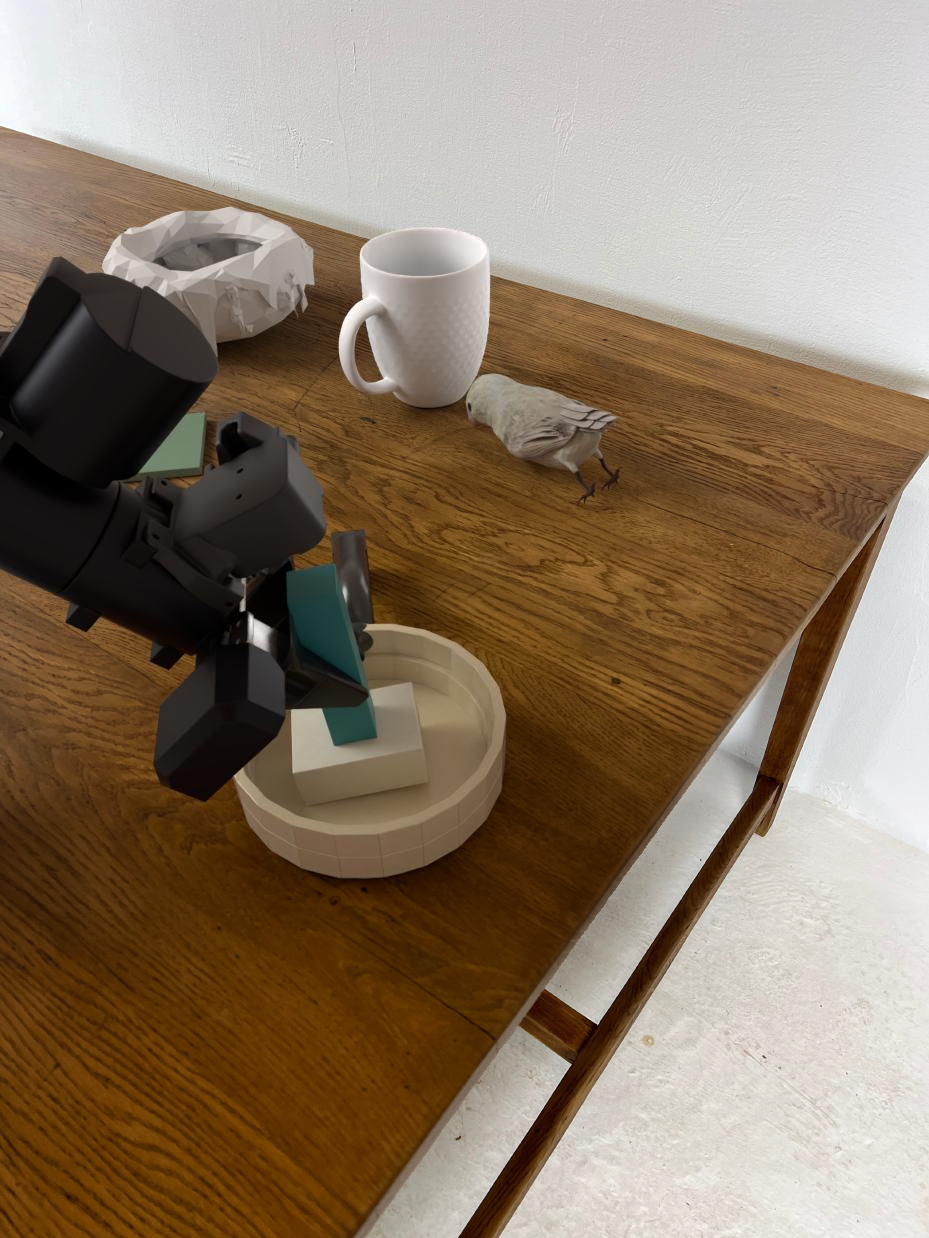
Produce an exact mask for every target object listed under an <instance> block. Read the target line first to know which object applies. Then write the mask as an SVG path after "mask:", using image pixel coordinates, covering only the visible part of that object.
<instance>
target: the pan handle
mask: <svg viewBox="0 0 929 1238" xmlns="http://www.w3.org/2000/svg"><path fill="white" fill-rule="evenodd" d="M330 543H331V544H330V546H331V547H330V548H331V556H332V563H335V565H336V569H337V572H338V576H339V580H340V583H341V587H342V591H343V594H344V598H345V602H346V605H347V609H348V613H349V616H350V620H351V624H352V627H353V631H354V635H355V638H356V642H357V645H358V646H359V647H360V648H361V650H362V651H363V652H366V651H368V650H369V649H371V647H372V646H373V638H372V637H371V635H369V634H368V633H367V632H364V631H363V630H364V629H365V628H366V627H367V624H376V622H375V621H376V620H375V614H374V605H373V597H372V591H371V589H372V582H371V572H370V563H369V554H368V545H367V537H366V530H365V529H364V528H362V529H361V528H359V529H351V530H341V531H332V532H330Z"/></svg>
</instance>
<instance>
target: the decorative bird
mask: <svg viewBox="0 0 929 1238" xmlns="http://www.w3.org/2000/svg"><path fill="white" fill-rule="evenodd" d="M465 407H466V412H467V418H468V421H469V422H470V424H471V426H472V427H473V428H474V429H475V428H480V427H483V426H488V427H490V428H492V431H493V433H494V435H496V437H497V438H498V439H499V440H500V441H501V442H502V443H503V445H504V446H505V448H506V449H507V451H508V452H509V454H511V455H512V457H514V458H515V459H518V460H529V461H531V462H534V463H535V464H538V465H542V466H545V467H548V468H554V469H558V470H560V471H564V472H565V471H566V472H569V471H570V472H572V473H573V474H574V475H575V477H576V479H577V481H578V483H579V484H580V485H581V486H582V487H583V488H584V489H585V490H586V492H585V493H583V494H582V495H581V496H580V497H579V499H578V501H577V504H576V507H578V506H579V504H580V502H581V501H583V504H584V505H586V502H587V499H588V498H589V497H592V498H595V492H596V488H595V486H596V483H597V482H599V480H595V481H593V482H592V483H591V485H590V487H589V485H588V484H586V482H585V481H584V480H583V478H582V476H581V473H580V471H579V469H578V467H580V466H582V465H583V464H584V463H586V462H587V461H588V460H589V459H590V457H591V456H593V457H595V458H596V459H597V460H598V461H599V463H600V466H601V467H602V469H603V471H605V472H606V474H607V475H608V476H610V479H609V480H607V481H606V482H605V483H604V484H603V486H602V488H601V492H600V493H601V494H602V493H603V491H604V489H605V487H607V491H608V492H610V487H611V485H613V484H617V485H619V482H618V480H619V479H620V477H621V475H620V470H621V469H623V468H624V466H620V467H618V468H617V469H616V470H615V472H614V473H613V472H612V471H611V470H610V469H609V467H608V466H607V464H606V461H605V459H604V458H603V457H604V456H603V454H602V453H601V451H600V449H599V446H600V442H601V439H602V436H603V435H602V433H605V432H608V429H607V427H616V426H618V425H617V424H616V423H615V421H614V420H617V419H621V416H615V415H612V414H611V413H612V412H608V411H602V410H601V408H596V407H591V406H588V405H586V404H585V403H583V402H581V401H579V400H576V399H573V398H568V397H567V396H565V395H563V394H561V393H558V392H556V391H554V390H550V389H547V388H544V387H541V386H532V385H528V384H522V383H519V382H517V381H516V380H514V379H512V378H510V377H508V376H506V375H503V374H500V373H487V374H482V375H480V376H479V377H477V378H475V379H474V381H473V383H472V385H471V386H470V388H469V389H468V391H467V393H466V399H465ZM605 427H606V428H605Z"/></svg>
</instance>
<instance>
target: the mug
mask: <svg viewBox="0 0 929 1238" xmlns="http://www.w3.org/2000/svg"><path fill="white" fill-rule="evenodd" d="M490 255H491V254H490V248H489V246H488V244H487V243H486V242H485V241H484V239H482V238H480V237H478V236H477V235H474V234H472V233H469V232H467V231H464V230H459V229H453V228H449V227H446V228H445V227H437V226H436V227H435V226H428V227H427V226H423V227H422V226H420V227H410V228H402V229H396V230H392V231H389V232H386V233H382V234H380V235H377V236H375V237H373V238H371V239H370V240H368V241H367V242H366V243H364V244H363V246H362V247H361V249H360V252H359V264H360V265H359V266H360V267H359V268H360V283H361V293H362V294H361V297H362V299H361V300H360V301H358V302H356V303H355V304H354V306H352V307H351V309H350V310H349V311H348V313H347V314H346V315H345V317H344V319H343V322H342V324H341V328H340V332H339V338H338V354H339V360H340V365H341V368H342V371H343V373H344V375H345V377H346V379H347V380H348V382H349V383H350V384H351V385H352V386H353V387H354V388H355V389H356V390H358V391H360V392H362V393H363V394H364V393H365V394H367V395H373V396H379V395H388V394H391V393H392V394H393V395H394V396H395V397H396V399H398V400H399V401H400V402H403V403H404V404H406V405H409V406H412V407H415V408H416V407H417V408H425V409H434V408H435V409H436V408H442V407H447V406H450V405H453V404H455V403H457V402H459V400H461V399H462V398H463V397H465V395H467V393H468V391H469V388H470V387H471V385H472V384H473V382H474V381H475V380H476V377H477V376H478V373H479V371H480V368H481V365H482V363H483V358H484V355H485V351H486V346H487V342H488V334H489V326H490V316H491V315H490V307H491V273H490V272H491V271H490V270H491V269H490V268H491V265H490V263H491V262H490V258H491V257H490ZM364 322H365V324H366V325H365V326H366V329H367V334H368V335H367V336H368V339H369V344H370V346H371V352H372V354H373V357H374V361H375V363H376V366H377V368H378V370H379V373H380V374H381V376H382V378H383V379H380V380H378V381H374V382H368V381H366V380H364V379H363V378H362V377H361V375H360V373H359V371H358V367H357V363H356V356H355V347H356V339H357V335H358V332H359V329H360V327H362V324H363V323H364Z"/></svg>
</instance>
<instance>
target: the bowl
mask: <svg viewBox="0 0 929 1238" xmlns="http://www.w3.org/2000/svg"><path fill="white" fill-rule="evenodd" d="M314 257H315V256H314V248H312V247H311V246H310V245H309V244H307V242H306V241H305V239H303V238H302V237H301V236H299V234H298V233H296V232H295V231H294V230H293V229H292V226H289V225H287V224H285V223H282V222H280V221H277V220H274V219H272V218H271V217H268V216H266V215H264V214H262V213H260V212H253V211H251V212H250V211H245V210H244V209H243V210H242V209H239V208H237V207H233V206H227V207H223V208H217V209H214V210H180V211H175V212H172V213H169V214H167V215H163V216H161V217H159V218H157V219H155V220H154V221H151V222H149V223H147V224H145V225H143V226H141V227H139V226H138V227H129V228H127V229H126V230H125V231H124V232H122V233H120V234H119V235H118V236H117V237H116V238H115V240H113V241H112V243H111V245H110V248H109V250H108V252H107V253H106V255H105V257H104V259H103V261H102V265H101V268H102V270H103V273H105V274H110V275H114V276H117V277H119V278H122V279H124V280H127V281H129V282H131V283H133V284H135V285H137V286H139V287H141V288H143V287H144V286H148V287H150V288H152V289H153V290H155V291H156V292H158V293H159V294H161V295H162V296H163V297H165V298H166V299H167V300H168V301H170V302H171V303H172V304H174V305H175V306H176V307H177V308H178V309H179V310H181V311H182V312H183V313H184V314H185V315H186V316H187V317H188V318H189V319H190V320H191V321H192V322H193V323H194V324H195V325H196V327H197V328H198V329H199V330H200V331H201V332H202V333H203V335H204V336H205V338H206V339H207V340H208V342H209V343H210V345H211V347H212V349H213V351H214V352H215V354H216V357H217V358H218V357H219V355H218V346H217V344H218V343H225V342H232V341H237V340H244V339H248V338H249V339H250V338H253V337H255V336H257V335H259V334H261V333H263V332H265V331H266V330H268V329H270V328H271V327H274V326H275V325H277V324H279V323H280V322H282V321H284V320H285V319H286V318H287V317H288V316H289V315H290V314H291V313H292V312H293V311H294V312H295V315H296V318H297V319H299V315H298V312H297V311H298V310H297V308H296V307H297V305H298V303H300V307H301V312H302V313H304V312H305V310H306V309H307V307H308V305H309V302H308V299H307V296H306V293H305V288H306V287H308V285H310V286H316V285H315V284H316V283H315V274H314V267H313V266H314V265H313V262H314Z"/></svg>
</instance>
